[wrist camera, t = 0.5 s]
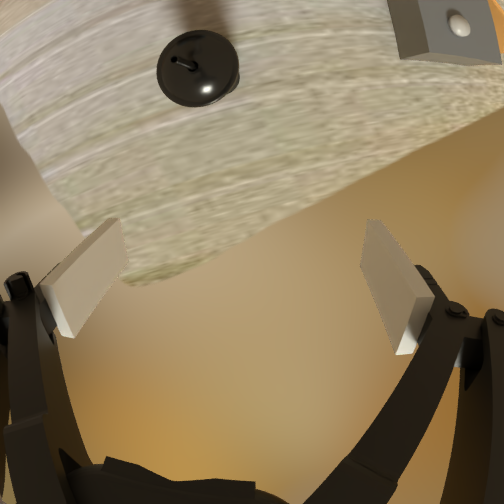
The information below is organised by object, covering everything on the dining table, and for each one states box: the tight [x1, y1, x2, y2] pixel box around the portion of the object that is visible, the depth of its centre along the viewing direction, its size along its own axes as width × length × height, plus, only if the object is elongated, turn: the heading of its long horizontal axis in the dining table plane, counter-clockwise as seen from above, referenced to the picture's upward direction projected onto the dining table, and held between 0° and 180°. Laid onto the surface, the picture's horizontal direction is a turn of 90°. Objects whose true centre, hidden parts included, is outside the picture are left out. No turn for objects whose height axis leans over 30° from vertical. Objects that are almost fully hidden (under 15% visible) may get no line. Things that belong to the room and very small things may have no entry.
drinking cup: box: [157, 30, 240, 107], centre depth 26 cm, size 8×8×20 cm
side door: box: [488, 0, 504, 53], centre depth 21 cm, size 12×2×7 cm, turn 50°
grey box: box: [387, 0, 502, 66], centre depth 22 cm, size 18×14×10 cm
